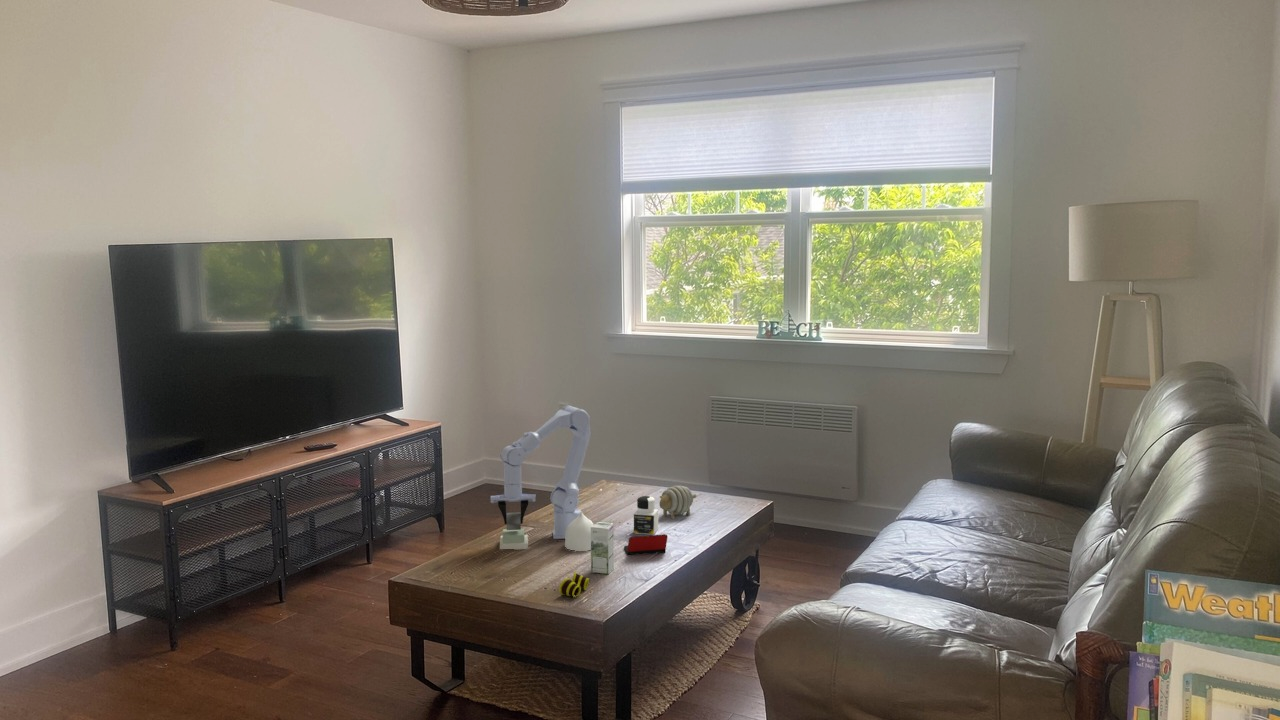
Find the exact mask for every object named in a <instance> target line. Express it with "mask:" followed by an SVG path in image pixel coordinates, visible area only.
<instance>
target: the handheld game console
mask: <svg viewBox="0 0 1280 720" xmlns="http://www.w3.org/2000/svg"><path fill="white" fill-rule="evenodd" d="M667 542H668V535H667V534H666V533H665V534H654V535H649V534H648V535H641V536H640V535H638V536H637V535H636V536H631V537H629V538H628V543H627V545H624V546H623V549H624V551H625V553H626V554H627V555H626V556H639V555H641V556H643V555H645V554H647V555H648V554H649V555H652V554H653V555H654V554H655V555H656V554H665V553H666V552H667V551H666V548H667Z"/></svg>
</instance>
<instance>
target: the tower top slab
mask: <svg viewBox="0 0 1280 720" xmlns="http://www.w3.org/2000/svg"><path fill="white" fill-rule="evenodd" d="M524 535H525V528H521V530H507V528H505V529H502V536H503V544H504V543H524V542H525V541H524Z"/></svg>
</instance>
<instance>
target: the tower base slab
mask: <svg viewBox="0 0 1280 720" xmlns="http://www.w3.org/2000/svg"><path fill="white" fill-rule="evenodd" d="M524 541H525V542H524V543H504V544H503V535H500V538H499V550H500V549H514V550H528V549H529V534H524ZM527 548H528V549H527Z"/></svg>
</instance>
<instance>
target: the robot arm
mask: <svg viewBox="0 0 1280 720" xmlns="http://www.w3.org/2000/svg"><path fill="white" fill-rule="evenodd" d="M590 420H591V416H590V415H589V413H588V412H587V410H585V409H583V408H578V407H575V406H572V405H565V406H563V407H562V408H561V409H559V410H557V411H556V412H555V414H554V415H553V416H552V417H551V418H549V419H548V420H547V421H546V422H545V423H543V425H542V426H540V427H539V428H538V429H537V430H536V431H528V432H527V431H526V432H524V433H523V435H522V437H520V438H519V439H518V440H517V441H513V442H512V444H511V445H507V446H505V447H503V449H502V451H501V453H500V460H501V461H502V462H503V489H504V490H503V491H504V492H503V494H497V495H490V503H491V504H494V503H497V506H498V508H499V510H500V513H501V515H502V517H503V521H504V523H503V524H504V525H507V520H506V516H507V503H509V502H510V503H512V502H513V503H514V502H517V503H518V502H520V512H521V525H522V524H523V522H524V516H525V514H526V511H527V508H528V506H529V502H532V503H533V502H536V499H537V498H536V493H535V494H530V493H523V486H522V480H523V479H522V464H523V462H524V460H525V457H527V456H528V455H529V454H531V453H532V452H533V451H534V450H536V449H538V448H539V447H540V446H541V442H542V441H543V439H545V438H546V437H548V436H550V435H551V434H552V433H555V431H557V430H559V429H560V428H569V430H570V431H571V433H572V434H573V438H572V441H571V445H570V448H569V452H568V456H567V459H566V463H565V466H564V469H563V472H562V473H563V474H562V476H561V479H560V480H559V481H558V482H557V483H556V485H555V488H554V489H553V490H552V492H551V494H550V497H549V498H550V502H551V504H553V520H554V521H553V527H554V528H553V530H552V537H553V540H558V539H559V540H560V539H564V540H565V534H566V530H567V527H568V526H569V524H570V523H571V522H572V521H573V520H575V519H576V518H577V517H578V516H579V514H580V512H581V511H582V509H579V508H578V507H579V504H580V503H579V502H580V501H579V493H580V490H579V487H578V481H579V477H580V474H581V471H582V467H583V464H584V461H585V456H586V453H587V450H588V446H589V442H590V439H591V435H592V432H591V431H592V430H591V424H590V422H591V421H590Z"/></svg>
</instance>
